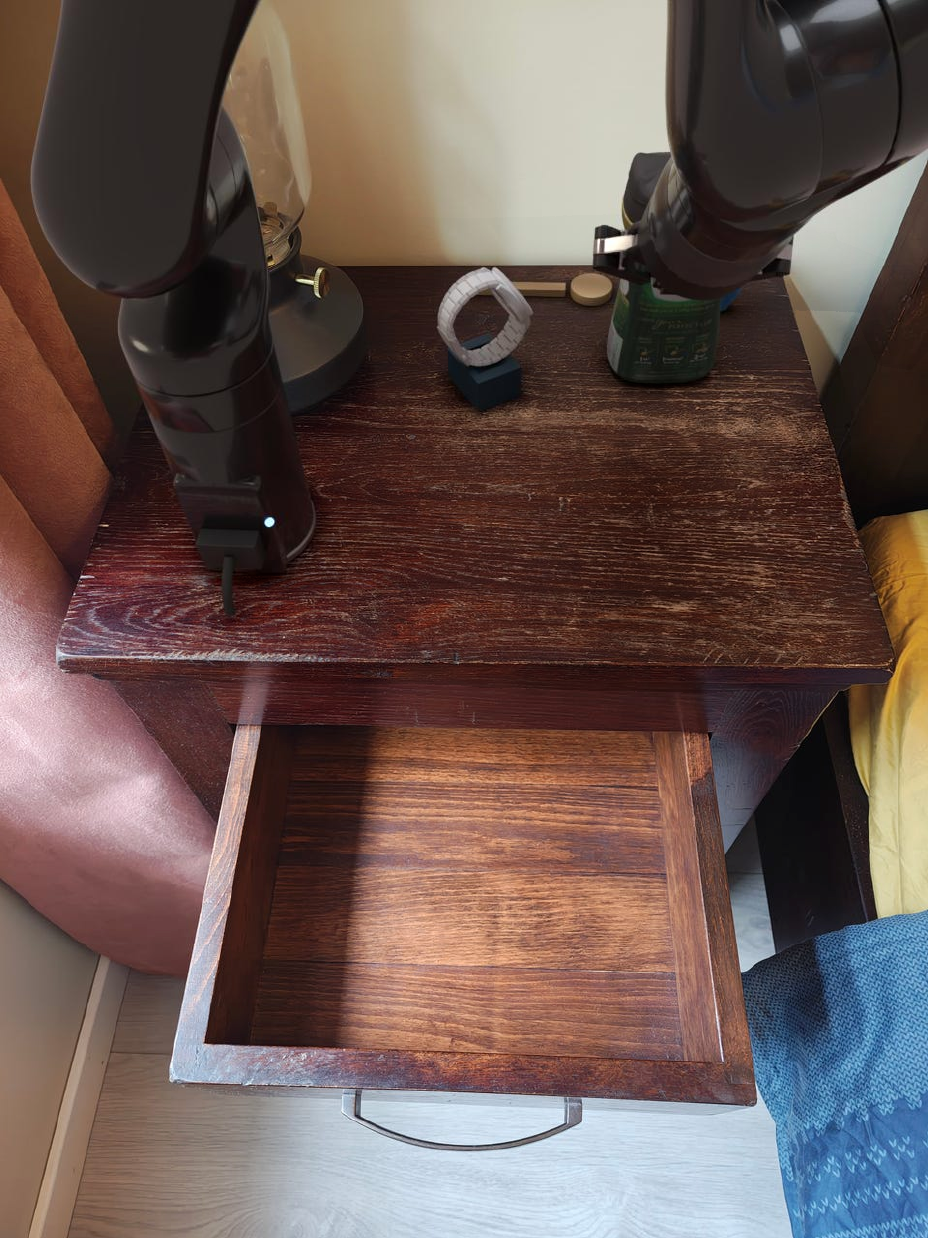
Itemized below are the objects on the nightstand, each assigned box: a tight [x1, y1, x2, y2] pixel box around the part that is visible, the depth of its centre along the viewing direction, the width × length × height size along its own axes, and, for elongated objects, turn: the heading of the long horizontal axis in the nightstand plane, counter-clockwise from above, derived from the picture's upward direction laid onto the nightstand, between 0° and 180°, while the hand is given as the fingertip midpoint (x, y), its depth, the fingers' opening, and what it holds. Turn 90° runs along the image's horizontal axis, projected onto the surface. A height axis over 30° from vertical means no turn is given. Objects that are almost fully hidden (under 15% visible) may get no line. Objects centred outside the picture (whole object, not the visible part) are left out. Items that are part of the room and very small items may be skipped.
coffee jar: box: [606, 151, 722, 384], centre depth 76 cm, size 10×8×19 cm
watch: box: [436, 266, 534, 413], centre depth 77 cm, size 6×8×11 cm
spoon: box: [475, 272, 613, 307], centre depth 89 cm, size 4×14×1 cm, turn 86°
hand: (670, 279), depth 66 cm, fingers closed
